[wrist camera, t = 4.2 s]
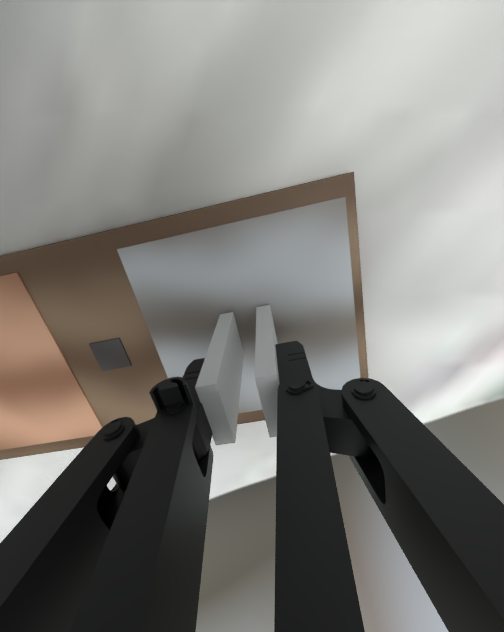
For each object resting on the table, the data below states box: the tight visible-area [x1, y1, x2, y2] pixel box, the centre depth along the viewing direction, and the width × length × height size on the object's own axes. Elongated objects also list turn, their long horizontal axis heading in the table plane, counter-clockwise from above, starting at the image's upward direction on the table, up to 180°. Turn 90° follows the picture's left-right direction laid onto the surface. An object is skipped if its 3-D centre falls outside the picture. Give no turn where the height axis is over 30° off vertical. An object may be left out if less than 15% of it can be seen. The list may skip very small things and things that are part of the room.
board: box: [0, 172, 368, 460], centre depth 18 cm, size 14×33×1 cm, turn 102°
